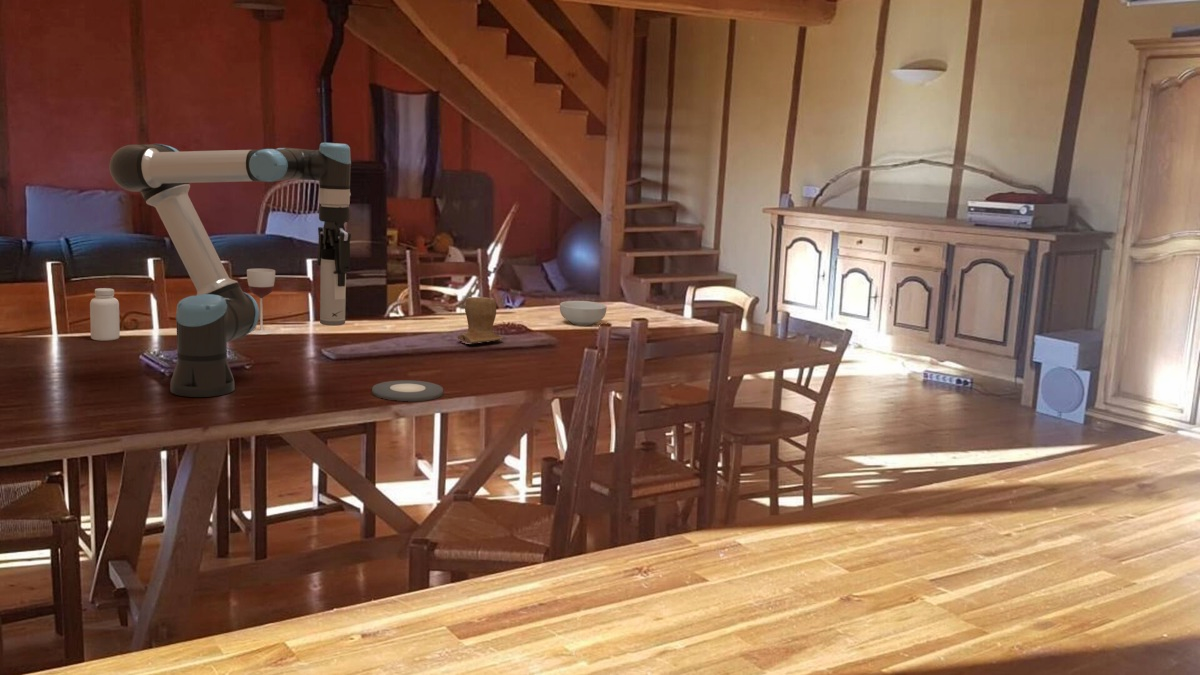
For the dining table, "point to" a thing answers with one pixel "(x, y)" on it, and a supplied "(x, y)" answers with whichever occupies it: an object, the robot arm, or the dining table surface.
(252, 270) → the wineglass
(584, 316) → the cereal bowl
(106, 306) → the pill bottle
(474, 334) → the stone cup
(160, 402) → the dining table surface
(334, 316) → the travel mug
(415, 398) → the grey flat disc
